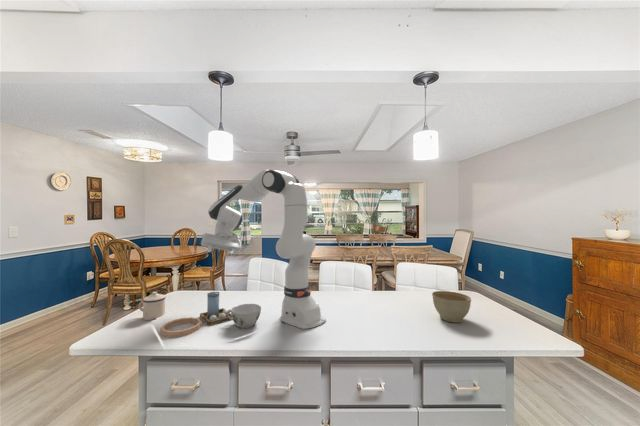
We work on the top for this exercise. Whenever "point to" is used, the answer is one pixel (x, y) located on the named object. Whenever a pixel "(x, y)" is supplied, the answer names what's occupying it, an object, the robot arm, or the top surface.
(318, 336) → the top surface
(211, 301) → the pebble jar
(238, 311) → the teacup
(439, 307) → the planter bowl
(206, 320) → the parts tray
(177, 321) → the tan flat ring
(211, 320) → the pebble
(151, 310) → the teacup with lid
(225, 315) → the pebble
